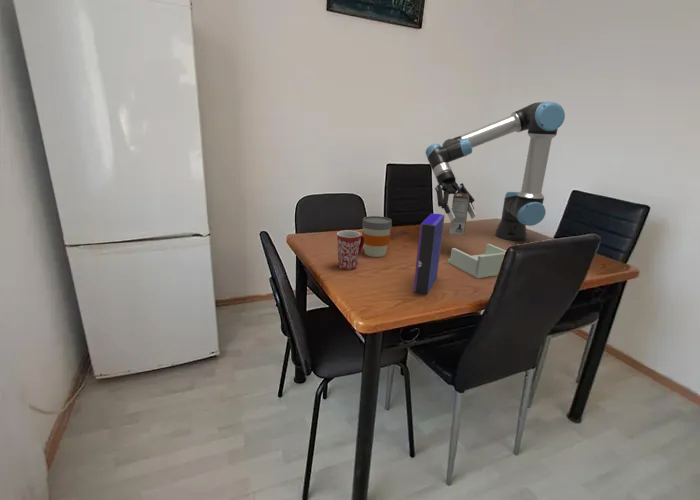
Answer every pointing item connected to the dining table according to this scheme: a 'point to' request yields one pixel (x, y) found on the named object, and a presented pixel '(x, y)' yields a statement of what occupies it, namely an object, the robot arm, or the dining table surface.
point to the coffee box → (459, 213)
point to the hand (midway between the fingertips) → (463, 218)
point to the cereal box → (428, 253)
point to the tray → (479, 261)
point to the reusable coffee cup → (376, 235)
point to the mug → (349, 248)
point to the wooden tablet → (398, 234)
